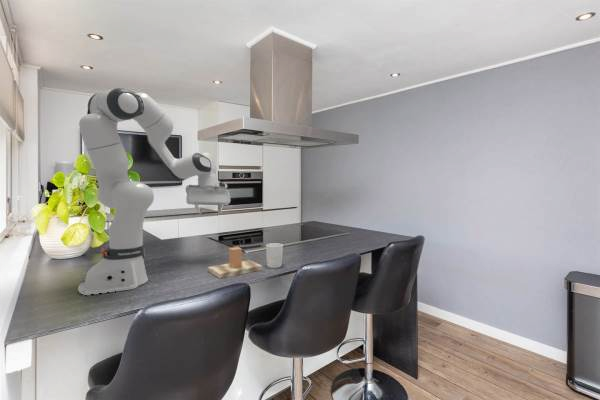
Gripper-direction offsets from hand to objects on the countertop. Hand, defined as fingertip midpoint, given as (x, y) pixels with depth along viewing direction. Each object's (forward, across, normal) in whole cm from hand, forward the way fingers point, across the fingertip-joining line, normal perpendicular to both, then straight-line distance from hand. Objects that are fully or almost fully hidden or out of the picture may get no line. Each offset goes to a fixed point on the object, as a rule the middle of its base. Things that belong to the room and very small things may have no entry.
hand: (210, 213), depth 140 cm
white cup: (+28, +26, -8) cm, 39 cm away
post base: (+28, +7, -5) cm, 29 cm away
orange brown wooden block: (+26, +7, -6) cm, 28 cm away
